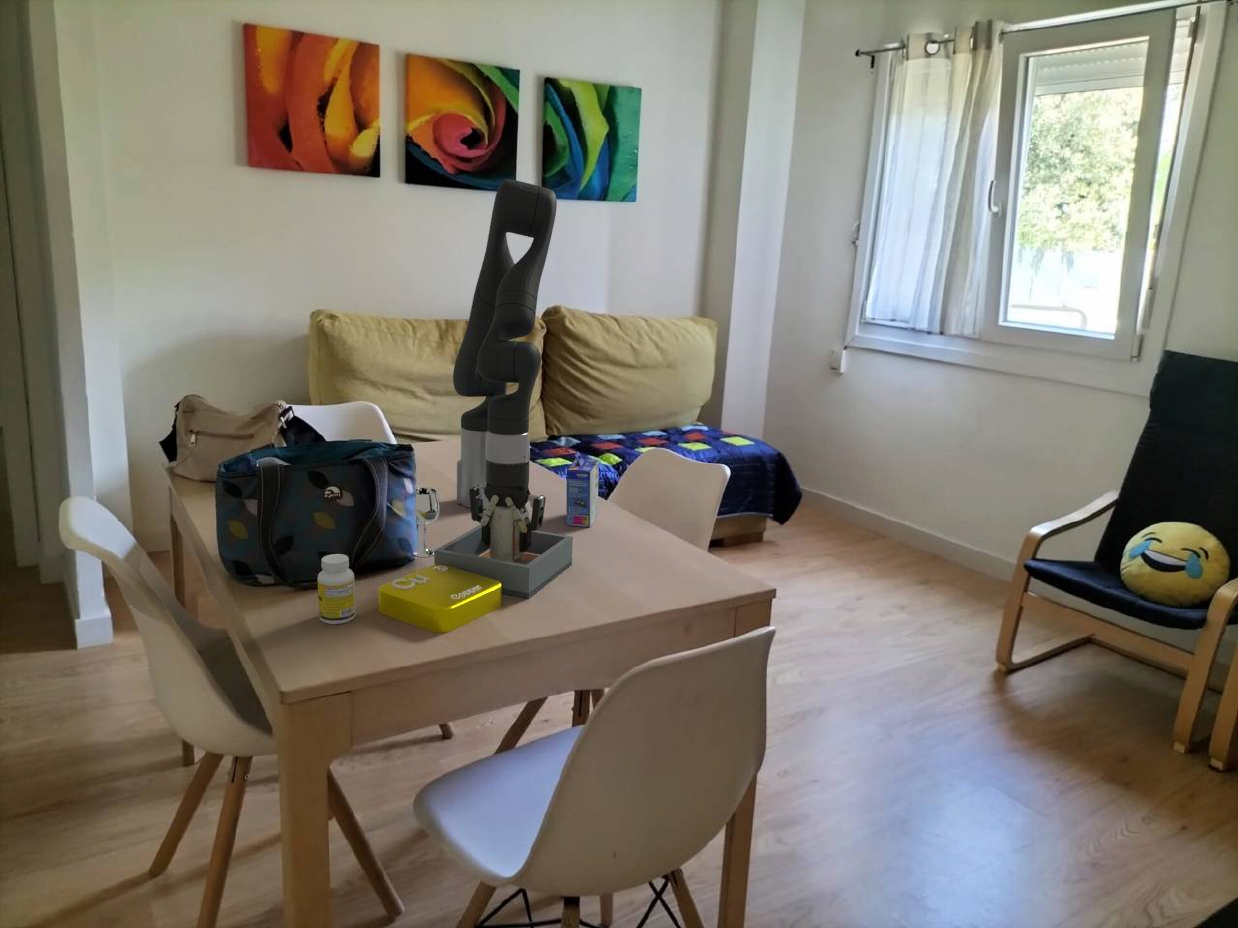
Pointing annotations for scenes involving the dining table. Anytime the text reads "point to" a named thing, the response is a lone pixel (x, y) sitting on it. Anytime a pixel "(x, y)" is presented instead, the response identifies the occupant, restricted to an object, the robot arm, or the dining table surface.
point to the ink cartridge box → (582, 492)
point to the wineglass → (426, 514)
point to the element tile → (439, 597)
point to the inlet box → (518, 578)
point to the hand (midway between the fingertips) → (506, 547)
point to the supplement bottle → (336, 590)
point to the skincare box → (505, 536)
